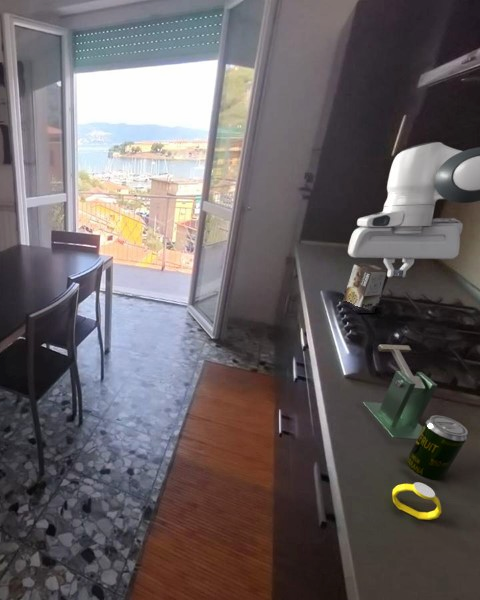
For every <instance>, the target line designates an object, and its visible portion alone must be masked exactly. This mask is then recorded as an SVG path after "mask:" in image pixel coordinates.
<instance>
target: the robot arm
mask: <svg viewBox="0 0 480 600" xmlns="http://www.w3.org/2000/svg"><path fill="white" fill-rule="evenodd" d="M386 191H387V198H386V200H385V202H384V204H383V209H382V211H380V212H376V213H373V214H369V215H365V216H362V217H359V218H358V219H357V221H356V225H357V226H358V227H357V228H355V229H354V230H353V232H352V234H351V236H350V239H349V243H348V247H347V254H348V256H350V257H351V258H355V259H383V264H384V265H385V267H386V270H387V271H388V272H387V276H388V278H405V277H406V275H407V271H408V270H409V269H410V268H411V267H412V266H413V265H414V264H415V259H418V260H419V259H420V260H454V259H455V258H457V257H458V256H459V253H460V246H461V236H460V235H461V234H462V231H463V226H464V225H463V223H462V222H461V220H458V219H457V218H455V217H448V218H445V217H444V218H443V217H434V213H435V207H436V202H437V201H438V200H447V201H449V202H452V203H456V204H457V203H458V204H469V203H476V202H480V146H478V147H473V148H468V149H466V150H460V149H457V148H453V147H450V146H448V145H446V144H444V143H443V142H440V141H431V142H425V143H424V142H423V143H420V144H416V145H413V146H409V147H407V148H404V149H403V150H401V151H400V152H399V153H397V155H396V156H395V157H394V159H393V161H392V163H391V167H390V170H389V174H388V179H387V185H386ZM396 259H402V261H401V263H403V264H402V265H401V267H400V268H397V269H396V268H395V267H394V266H393V265H394V263H395V262H396V261H395V260H396Z"/></svg>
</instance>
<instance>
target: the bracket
mask: <svg viewBox="0 0 480 600" xmlns="http://www.w3.org/2000/svg"><path fill="white" fill-rule="evenodd" d="M414 376H419V377H420V379H421V381H422V383H423V384H424V386H425V388H426V389H424V390H423V391H421V392H420V393H412V391H413V389H414V387H415V385H416V384H415V383H414V382H413V381H412V380H411V379H410V378H408V377H407V376H406V375H405V374H404V373H403V372H402V371H401V370H396V371H395V373H394V375H393V378H392V380H391V382H390V385H389V387H388V389H387V391H386V393H385V396H384V398H383V400H382V402H373V401H362V403H363V405H364V406H365V407H366V408H367V409H368V410H369V412H370V413H371V414H372V415H373V416H374V418H375V419H376V420H377V421H378V422H379V424H380V425H381V426H382V427H383V428H384V429H385V430H386V432H387V433H388V434H389V435H390V436H391V437H392V439H402V440H403V439H404V440H417V439H418V437H419V435H420V433H421V431H422V429H423V427H424V426H423V425H421V424H420V423H419V422H420V421H421V418H422V417H423V414H425V411H426V409H427V407H428V405H429V403H430V402H431V399H432V397H433V395H434V393H435V391H436V389H437V387H438V384H437V383H435V382H434V381H433V380H432V379H431V378H430V377H429V376H427V375H426V374H425V373H423V372H422V371H416V373H415V375H414Z"/></svg>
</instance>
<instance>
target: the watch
mask: <svg viewBox="0 0 480 600" xmlns="http://www.w3.org/2000/svg"><path fill="white" fill-rule="evenodd" d="M407 491H409V492H413V493H415V494H416V495H417V496H419V497H420V498H421V499H424V500H427V501H432V502H433V503H434V505H436V508H435V509H434V510H432V511H428V512H425V511H418V510H416V509H413V508H412V507H410V506H407V505H406V504H404V503H401V502H400V500H399V499H398V498H397V495H398V494H400V493H401V492H407ZM392 501H393V502H392V503H393V504H394V505H395V507H396V508H397V509H398V510H401V511H403V512H404V513H406V514H409V515H411V516H412V517H415V518H417V519H418V520H425V521H431V520H435V519H438V518H439V517H440V515H441V514H442V505H441V502H440V499H439V497H437V496H436V493H435V491H434V490H433V488H431V487H430V486H428V484H425V483H422V482H418V481H417V482H414V483H401V484H398V485H396V486H394V488H393V489H392Z"/></svg>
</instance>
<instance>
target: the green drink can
mask: <svg viewBox="0 0 480 600" xmlns="http://www.w3.org/2000/svg"><path fill="white" fill-rule="evenodd" d="M422 427H423V429H422V431H421V433H420V435H419V437H418V439H417V440H416V439H415V440H416V441H415V442H414V444H413V446H412V449H411V450H410V452H409V454H408V456H407V458H406V465H407V466H408V467H409V469H410V470H411V471H413V472H414V473H415V474H417V475H418V476H420V477H422V478H424V479H426V480H427V479H428V480H430V481H437V482H438V481H442V480H443V479H444V478H445V476H446V474H447V473H448V472H449V469H450V468H451V467H452V465H453V463H454V461H455V459H456V457H457V456H458V454H459V452H461V449H462V447H463V446H464V444H465V443H466V441H467V439H468V433H469V432H468V429H467V428H466V426H464V425H463V424H462V423H460V422H459V421H456V420H454V419H453V418H450V417H447V416H443V415H436V414H435V415H431V416H430V417H429V418H428V419H427V420H426V421H425V423H424V425H423V426H422Z"/></svg>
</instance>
